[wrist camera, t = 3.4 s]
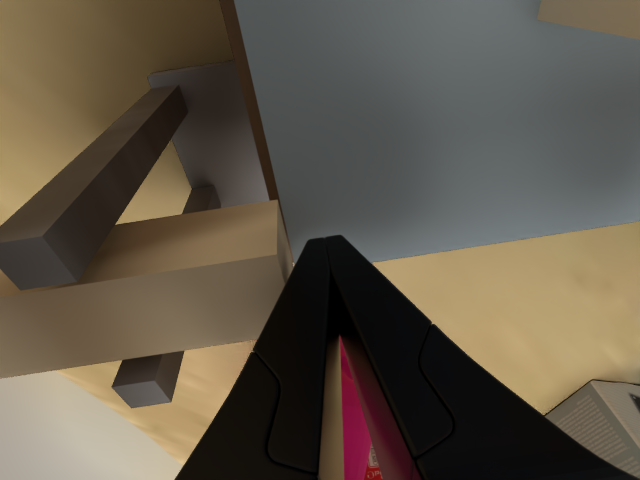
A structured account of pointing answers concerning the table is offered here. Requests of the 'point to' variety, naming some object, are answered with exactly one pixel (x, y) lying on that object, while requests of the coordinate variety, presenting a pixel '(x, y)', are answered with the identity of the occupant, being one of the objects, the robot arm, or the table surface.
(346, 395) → the pepper mill
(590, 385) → the hard drive box
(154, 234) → the tan wooden bar
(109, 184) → the open wooden box
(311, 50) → the lid
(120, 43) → the table surface
